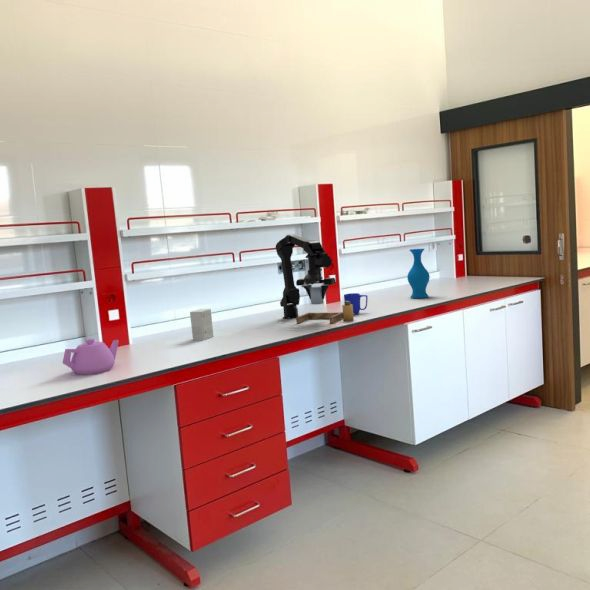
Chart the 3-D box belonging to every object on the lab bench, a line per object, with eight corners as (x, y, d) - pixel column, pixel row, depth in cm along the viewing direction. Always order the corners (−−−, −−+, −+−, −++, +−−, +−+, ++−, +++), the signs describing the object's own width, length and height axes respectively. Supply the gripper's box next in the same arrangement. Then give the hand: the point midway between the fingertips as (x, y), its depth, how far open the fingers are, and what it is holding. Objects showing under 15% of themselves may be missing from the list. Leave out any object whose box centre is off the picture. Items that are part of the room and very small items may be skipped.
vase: (426, 299, 345) (423, 249, 342) (405, 299, 352) (402, 250, 348) (433, 296, 355) (431, 248, 352) (412, 296, 362) (410, 248, 358)
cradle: (296, 323, 297) (296, 317, 296) (308, 318, 309) (308, 312, 309) (332, 323, 288) (332, 317, 288) (343, 318, 301) (343, 312, 301)
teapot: (74, 380, 215) (70, 346, 214) (56, 374, 226) (52, 342, 225) (130, 366, 230) (127, 335, 229) (111, 361, 241) (107, 332, 240)
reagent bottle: (341, 321, 293) (340, 302, 292) (345, 319, 298) (344, 300, 297) (351, 321, 291) (350, 302, 290) (355, 319, 296) (353, 300, 294)
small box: (202, 336, 282) (199, 308, 280) (213, 336, 279) (211, 308, 278) (192, 340, 274) (189, 311, 273) (204, 340, 272) (201, 311, 270)
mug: (367, 314, 308) (366, 294, 307) (344, 315, 311) (342, 295, 310) (369, 311, 316) (367, 292, 315) (346, 312, 319) (344, 293, 318)
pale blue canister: (309, 304, 295) (307, 288, 294) (316, 301, 302) (315, 285, 301) (320, 304, 292) (319, 287, 291) (327, 301, 300) (326, 285, 299)
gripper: (289, 269, 291) (292, 302, 293) (326, 268, 283) (328, 301, 284) (299, 267, 301) (302, 298, 302) (334, 265, 292) (337, 298, 294)
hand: (317, 299), depth 296 cm, fingers closed on pale blue canister, 6 cm apart
